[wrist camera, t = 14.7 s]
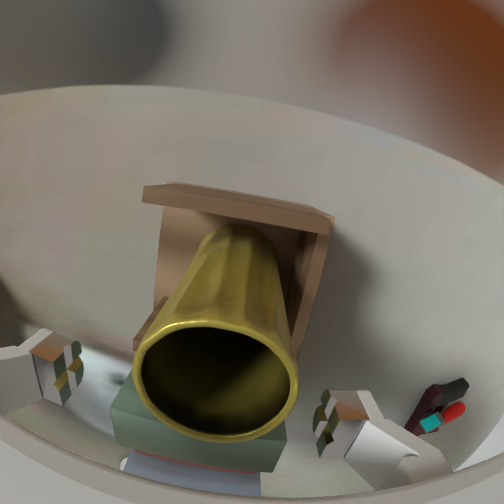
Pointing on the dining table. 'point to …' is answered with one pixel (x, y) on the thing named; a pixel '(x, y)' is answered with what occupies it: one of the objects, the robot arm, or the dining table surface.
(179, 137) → the dining table surface
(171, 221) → the wooden desk organizer
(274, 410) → the vase
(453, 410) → the toy gun
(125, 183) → the dining table surface
